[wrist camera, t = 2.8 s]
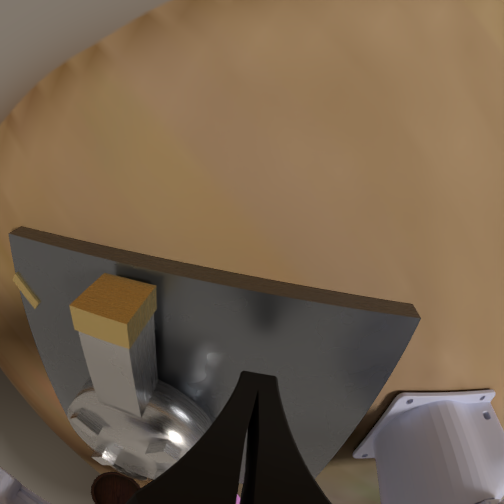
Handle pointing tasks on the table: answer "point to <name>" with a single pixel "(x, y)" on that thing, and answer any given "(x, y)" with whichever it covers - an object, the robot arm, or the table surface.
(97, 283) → the silver disc with handle
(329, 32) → the table surface
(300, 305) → the plate
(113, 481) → the compass
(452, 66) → the table surface
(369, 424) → the table surface
